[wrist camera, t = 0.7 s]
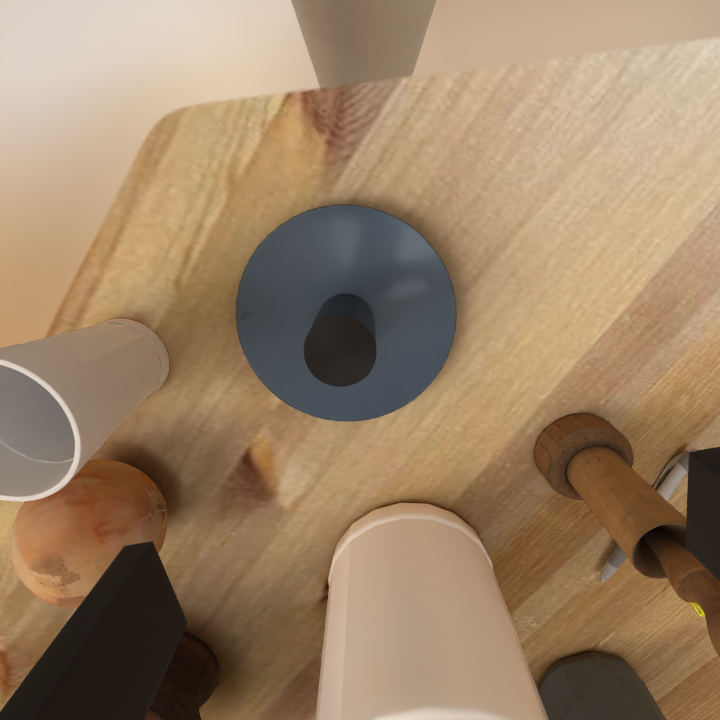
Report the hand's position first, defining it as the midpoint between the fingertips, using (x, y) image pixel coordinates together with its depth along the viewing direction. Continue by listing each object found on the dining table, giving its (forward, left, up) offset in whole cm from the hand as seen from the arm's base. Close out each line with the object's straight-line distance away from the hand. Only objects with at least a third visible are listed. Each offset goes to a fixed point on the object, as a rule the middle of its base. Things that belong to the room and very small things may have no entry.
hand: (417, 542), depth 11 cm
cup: (-1, -19, -22) cm, 30 cm away
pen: (+20, +19, -22) cm, 35 cm away
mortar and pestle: (+13, +14, -22) cm, 29 cm away
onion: (+10, -23, -22) cm, 34 cm away
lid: (-1, -2, -21) cm, 22 cm away
